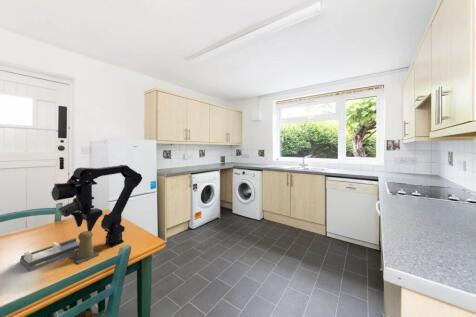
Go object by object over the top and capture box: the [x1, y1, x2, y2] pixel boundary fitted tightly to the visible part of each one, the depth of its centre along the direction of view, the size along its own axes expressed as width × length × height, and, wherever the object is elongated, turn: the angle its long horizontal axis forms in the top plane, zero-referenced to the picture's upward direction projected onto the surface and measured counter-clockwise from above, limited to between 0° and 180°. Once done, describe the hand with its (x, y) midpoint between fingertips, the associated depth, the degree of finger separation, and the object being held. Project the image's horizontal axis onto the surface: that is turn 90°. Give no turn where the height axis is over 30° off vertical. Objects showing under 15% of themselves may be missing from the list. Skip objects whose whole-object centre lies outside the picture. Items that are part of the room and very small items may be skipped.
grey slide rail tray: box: [19, 237, 80, 272], centre depth 86 cm, size 19×12×3 cm, turn 153°
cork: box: [76, 230, 95, 259], centre depth 86 cm, size 6×6×11 cm
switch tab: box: [23, 241, 61, 263], centre depth 83 cm, size 10×7×3 cm
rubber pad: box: [69, 251, 100, 265], centre depth 86 cm, size 8×8×1 cm
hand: (84, 228), depth 86 cm, fingers open, 9 cm apart
